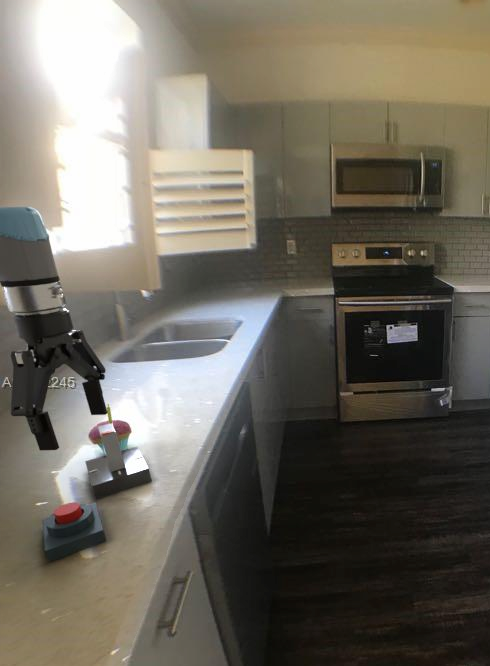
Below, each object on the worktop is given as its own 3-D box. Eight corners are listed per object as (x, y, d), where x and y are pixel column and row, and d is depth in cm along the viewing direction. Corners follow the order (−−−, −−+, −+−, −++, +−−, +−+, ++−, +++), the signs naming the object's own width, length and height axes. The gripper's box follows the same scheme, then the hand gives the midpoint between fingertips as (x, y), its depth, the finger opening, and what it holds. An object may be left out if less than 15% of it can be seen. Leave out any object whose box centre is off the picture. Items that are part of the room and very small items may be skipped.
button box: (46, 530, 79) (39, 510, 78) (99, 512, 84) (93, 493, 82) (48, 562, 72) (41, 541, 70) (106, 540, 76) (100, 520, 75)
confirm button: (56, 516, 77) (53, 507, 76) (81, 508, 79) (78, 499, 78) (57, 527, 74) (54, 518, 73) (83, 518, 76) (80, 509, 75)
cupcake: (143, 445, 108) (132, 398, 103) (110, 462, 101) (96, 412, 96) (119, 439, 111) (106, 393, 107) (85, 455, 104) (70, 407, 100)
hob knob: (107, 461, 95) (97, 425, 92) (121, 457, 96) (111, 421, 94) (111, 472, 91) (100, 435, 88) (125, 467, 92) (115, 431, 89)
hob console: (88, 473, 97) (84, 460, 95) (140, 458, 102) (137, 445, 101) (95, 499, 87) (91, 485, 86) (152, 481, 93) (148, 467, 92)
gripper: (0, 328, 61) (47, 467, 69) (108, 296, 84) (134, 401, 92) (-54, 330, 61) (-2, 468, 69) (68, 297, 85) (97, 402, 92)
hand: (76, 430), depth 80 cm, fingers open, 13 cm apart
